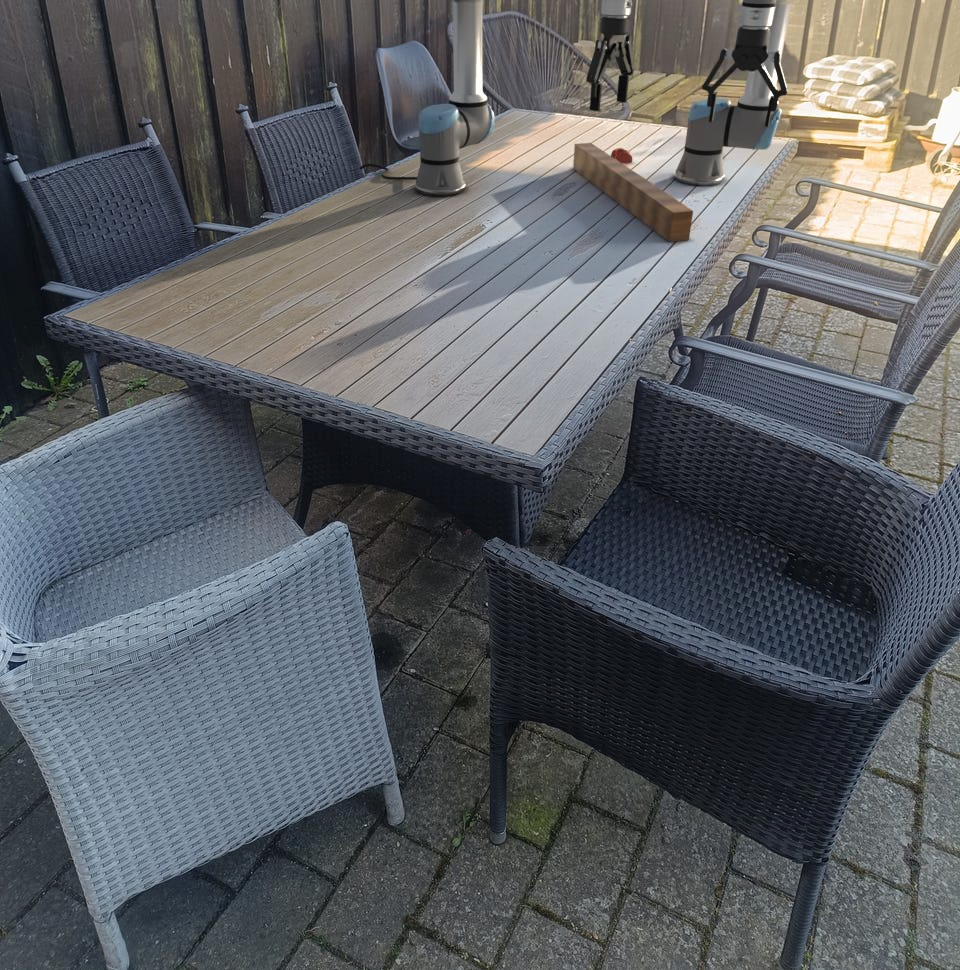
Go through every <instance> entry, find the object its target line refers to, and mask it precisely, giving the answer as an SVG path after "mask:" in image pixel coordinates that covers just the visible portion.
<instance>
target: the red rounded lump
mask: <svg viewBox="0 0 960 970" xmlns="http://www.w3.org/2000/svg"><path fill="white" fill-rule="evenodd" d="M610 156H611V157H613V158H614V159H616V160H617V161H619V162H620V163H622V164H632V163H633V156H632V154H631V152H630V150H628V149H624V148H623V147H617V148H615V149H613V150H612V151H611V154H610Z"/></svg>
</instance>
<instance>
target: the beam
mask: <svg viewBox="0 0 960 970" xmlns="http://www.w3.org/2000/svg"><path fill="white" fill-rule="evenodd" d="M572 163H573V164H572V169H573V170H575V171H576V172H577V173H578V174H579V175H581V176H582V177H584V178H585V179H586V180H588V181H589V182H590V183H592V185H594V186H596V187H597V188H598V189H599V190H601V191H602V192H603V193H604V194H606V195H607V196H608V197H610V198H611V199H613V200H614V201H615V202H616V203H618V204H619V205H620V206H621V207H623V208H624V209H626V210H627V211H628V212H630V213H631V214H632V215H634V216H635V217H636V218H637V219H638V220H640V221H641V222H643V223H644V224H645V225H646V226H648V227H649V228H650V229H652V230H653V231H654V232H656V234H658V235H659V236H660V237H662V238H664V239H665V240H666V241H668V243H674V242H675V243H676V242H683V241H684V242H685V241H689V240H690V237H691V236H690V235H691V230H692V229H691V228H692V221H693V217H694V216H693V215H694V210H693V209H691V208H689V207H688V206H686V205H685V204H683V203H682V202H681V201H679V200H678V199H676V198H675V197H673V196H672V195H670V194H669V193H667V192H666V191H665V190H663V189H661V188H659V186H656V185H655V184H653V183H652V182H650V181H649V180H648V179H646V178H644V177H643V176H641V174H639V173H637V172H635V171H634V170H633V169H631V168H630V167H628V166H626V165H625V164H624V163H620V162H619V161H617V160H616V159H614V158H613V157H611V154H609V153H607V152H605V151H604V150H602V149H601V148H600V147H598V146H596V145H595V144H593V143H592V142H583V143H574V150H573V162H572Z"/></svg>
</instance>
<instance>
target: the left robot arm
mask: <svg viewBox="0 0 960 970" xmlns="http://www.w3.org/2000/svg"><path fill="white" fill-rule="evenodd" d="M483 1H484V0H451V3H452V4H451V5H452V54H453V55H452V56H453V57H452V59H453V60H452V62H453V92H452V94H451V95H450V96H449V97H448V103H438V104H431V105H428V106H426V107H424V108H423V109H422V110H421V111H420V112H419V114H418V115H419V116H418V126H417V127H418V137H419V138H418V139H419V157H420V158H419V159H420V161H419V162H420V164H419V168H418V172H417V176H388V175H387V174H388V173H389V172H390V169H389V168H388V167H386V166H384V165H381V164H377V163H364V164H362V165H361V166H360V167H358V170H363V169H364V168H366V167H374V168H379V169H383V170H384V169H385V170H384V171H383V172H382V173H381V174H380V175H381V176H380V177H381V178H383V179H385V180H392V181H396V180H397V181H398V180H400V181H401V180H404V181H415V183H414V184H415V185H414V186H415V192H417V193H418V194H420V195H424V196H430V197H450V196H455V195H459V194H461V193H463V192H464V191H466V181H465V179H464V176H463V172H462V169H461V165H460V149H463V148H467V147H470V146H474V145H475V146H476V145H479V144H480V143H482V142H484V141H486V140H487V139H488V138H489V137H490V136H491V135H492V133H493V131H494V128H495V123H496V119H495V113H494V110H492V106H491V105H490V104H489V103H488V96H487V95H486V94H485V93H484V91H483ZM632 6H633V0H601V8H600V14H601V18H600V24H599V33H600V34H602V35H603V39H601V40H600V39H596V40H595V45H594V50H593V55H592V58H591V61H590V64H589V67H588V71H587V75H586V78H585V79H586V80H585V82H587V83H588V84H590V99H589V111H592V112H593V111H594V112H600V111H601V102H602V88H603V87H602V86H603V84H602V83H601V81H602V80H603V77H604V75H605V72H606V70H607V67H608V65H609V63H610V61H612V60H613V59H614V58H615V60H616V63H617V67H618V70H619V72H620V74H619V75H618V82H617V93H616V102H619V103H627V101H628V94H629V93H628V92H629V82H630V79H629V78H630V77H632V76H634V72H635V70H636V69H635V68H636V67H635V62H634V55H633V47H632V35H631V34H630V29H631V18H630V16H631V14H632Z"/></svg>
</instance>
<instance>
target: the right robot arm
mask: <svg viewBox="0 0 960 970" xmlns="http://www.w3.org/2000/svg"><path fill="white" fill-rule="evenodd" d="M793 2H795V0H742V2H741V8H740V13H739V20H738V25H739V27H738V29H737V33H736V34H737V35H736V40H735V44H734V45H735V46H734V49H728V48H727V47H723V48H722V49H721V50H720V53H719V56H718V59H717V62H716V63H715V64H714V66H713V68H712V70H711V71H710V73H709V74H708V76H707V77H706V79H705V81H704V82H703V83H702V85H701V89H702V90H703V91H706V92H707V98H706V99H701V100H698V101H695V102H693V104H692V105H690V109H689V114H688V117H687V121H688V122H687V126H686V127H687V128H686V136H685V143H684V150H683V154H682V156H681V158H680V161H679V162H678V165H677V167H676V168H675V172H674V173H675V174H674V179H675V180H676V181H677V182H680V183H683V184H686V185H693V186H714V185H715V186H716V185H720V184H722V183H723V182H724V181H725V177H726V176H725V175H726V173H725V167H724V160H723V150H724V147H725V148H737V149H746V150H752V151H755V150H762V151H764V150H765V151H766V150H768V149H769V148H770V147H771V145H772V143H773V140H774V137H775V134H776V131H777V128H778V126H779V122H780V119H781V116H782V112H783V110H782V109H781V108H780V107H779V99H780V97H783V96H786V95H787V94H788V92H789V90H788V85H787V82H786V78H785V75H784V71H783V66H782V63H781V62H782V57H783V52H784V46H785V42H786V36H787V30H788V26H789V20H790V15H791V9H792V4H793ZM730 56H731V58H732V59H733V62H734V63H733V64H732V65H731V66H730V67H729V68H728V69H727V70H726V71H725V72H724V73H723V74H722V75H721V76H720V77H719V78H718V79H717V80H716V81H715V82H714V83H713V84H712V85H711V83H712V81H713V79H714V78H715V76H716V74H717V73H718V71H719V69H720V68H721V66H722V65H723V64H724V62H725V60H728V59H729V57H730ZM737 69H738V70H739V71H740V72H745V71H747V77H746V82H745V89H744V94H742V95H741V96H740V97H739V98H738V99H737V105H732V103H731V100H730V99H729V98H722V97H721V98H720V97H718V91H716V90H717V89H719V87H720V86H721V85H722V84H723V83H724V82H725V81H726V80H727V79H728V78H729V77H730V76H731V75H732V74H733V73H734V72H735V71H736V70H737ZM777 84H778V85H779V89H778V87H777Z"/></svg>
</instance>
